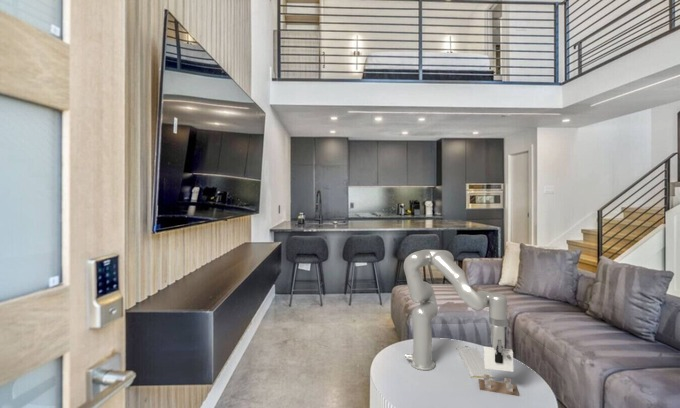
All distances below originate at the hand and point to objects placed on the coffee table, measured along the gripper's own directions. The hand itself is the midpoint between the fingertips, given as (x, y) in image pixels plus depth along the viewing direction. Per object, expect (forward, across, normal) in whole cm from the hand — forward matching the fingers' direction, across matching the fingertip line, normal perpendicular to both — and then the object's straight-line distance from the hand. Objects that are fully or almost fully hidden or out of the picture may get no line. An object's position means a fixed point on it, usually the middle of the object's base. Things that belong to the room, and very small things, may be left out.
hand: (498, 360), depth 157 cm
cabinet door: (+4, 0, 0) cm, 4 cm away
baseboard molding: (+14, -23, -10) cm, 28 cm away
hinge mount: (+13, 0, 0) cm, 13 cm away
